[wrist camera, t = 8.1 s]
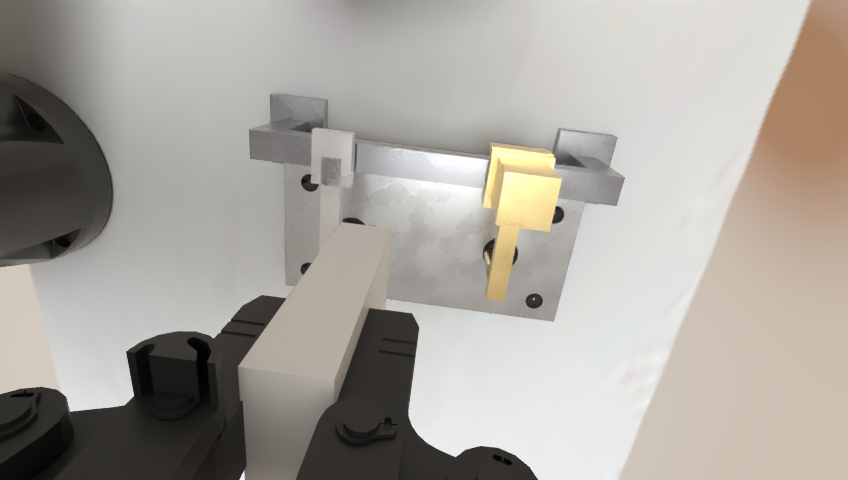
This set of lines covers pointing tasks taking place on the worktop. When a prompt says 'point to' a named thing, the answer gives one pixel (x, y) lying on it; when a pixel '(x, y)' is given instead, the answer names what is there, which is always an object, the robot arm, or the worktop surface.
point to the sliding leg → (516, 204)
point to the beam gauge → (412, 159)
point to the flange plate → (436, 242)
